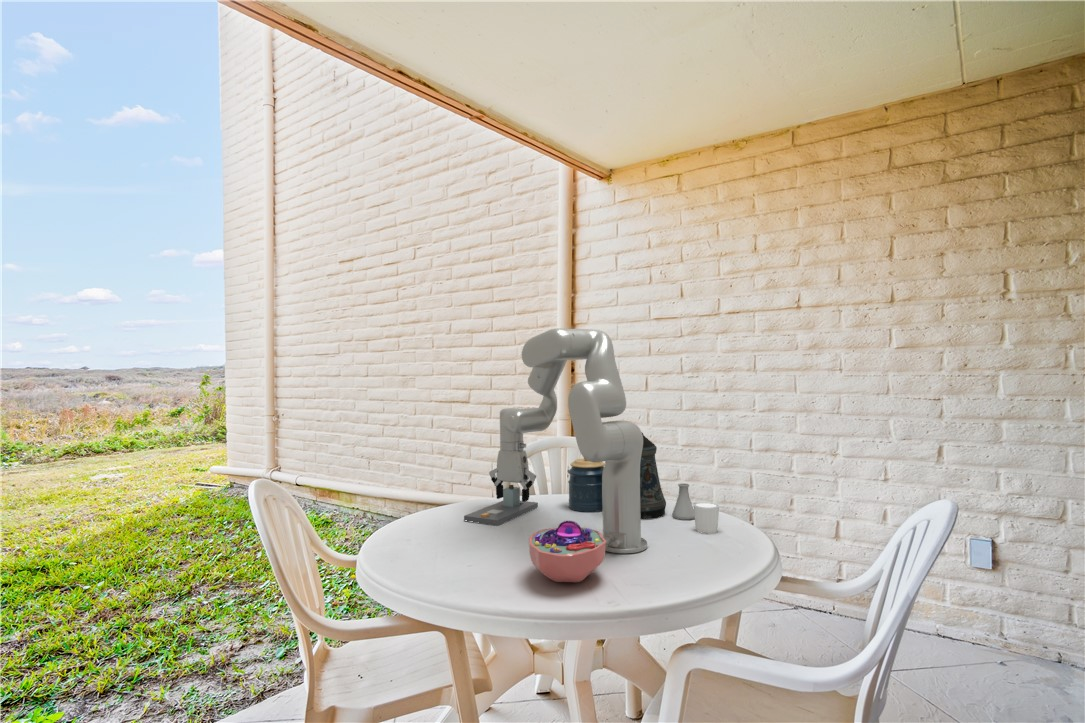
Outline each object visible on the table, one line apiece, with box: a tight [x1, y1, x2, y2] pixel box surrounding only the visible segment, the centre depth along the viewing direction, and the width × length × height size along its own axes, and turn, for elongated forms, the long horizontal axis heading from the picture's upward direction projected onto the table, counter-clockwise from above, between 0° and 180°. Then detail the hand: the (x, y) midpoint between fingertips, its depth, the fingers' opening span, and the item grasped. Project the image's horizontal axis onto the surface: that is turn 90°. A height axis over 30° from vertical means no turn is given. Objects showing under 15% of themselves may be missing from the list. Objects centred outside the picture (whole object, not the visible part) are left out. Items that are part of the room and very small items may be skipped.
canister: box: [567, 457, 605, 513], centre depth 180 cm, size 13×13×18 cm
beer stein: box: [604, 432, 667, 520], centre depth 171 cm, size 16×19×25 cm
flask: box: [671, 482, 695, 521], centre depth 166 cm, size 7×7×10 cm
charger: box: [502, 484, 521, 508], centre depth 179 cm, size 4×4×8 cm
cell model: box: [528, 520, 606, 583], centre depth 119 cm, size 17×20×11 cm
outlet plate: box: [463, 500, 539, 527], centre depth 174 cm, size 24×12×2 cm, turn 151°
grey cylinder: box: [692, 502, 720, 534], centre depth 152 cm, size 7×7×7 cm
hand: (512, 499), depth 179 cm, fingers open, 9 cm apart
